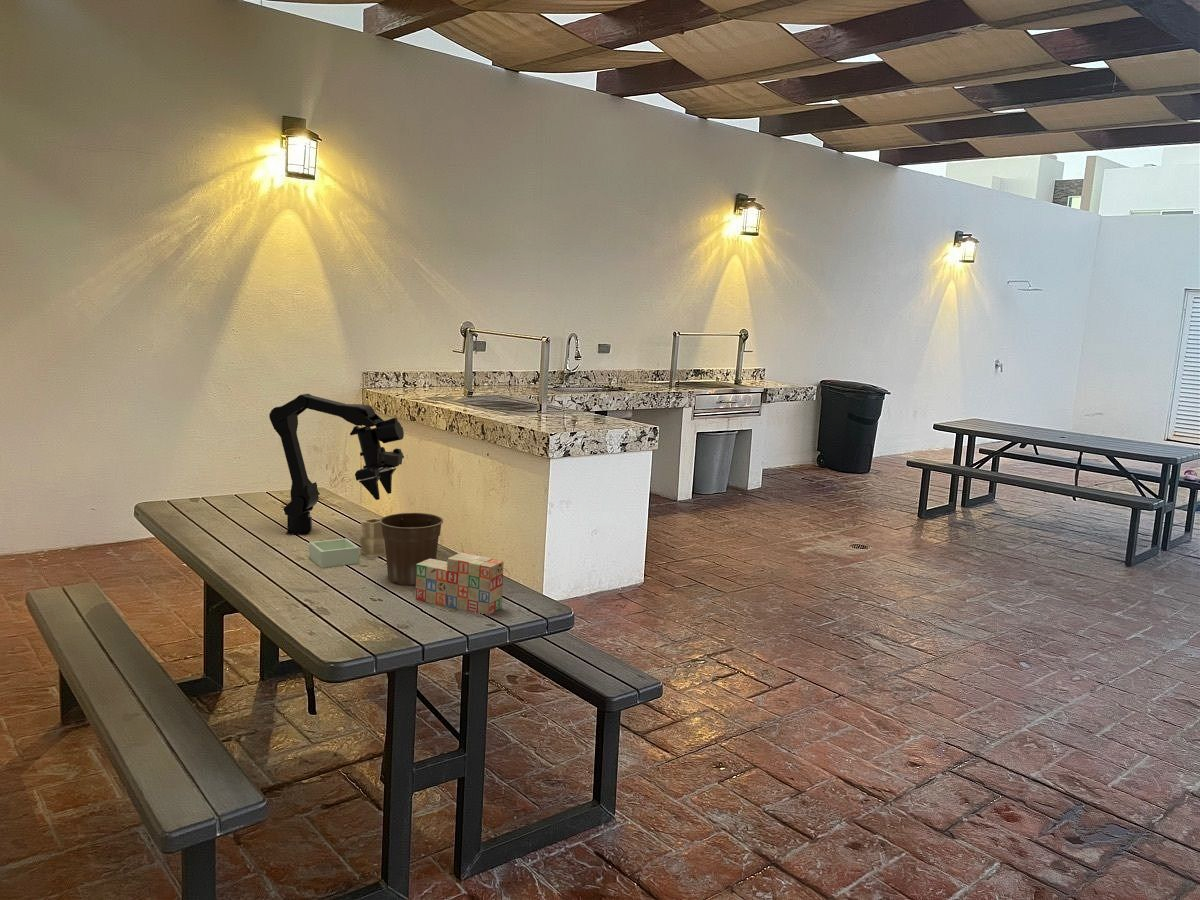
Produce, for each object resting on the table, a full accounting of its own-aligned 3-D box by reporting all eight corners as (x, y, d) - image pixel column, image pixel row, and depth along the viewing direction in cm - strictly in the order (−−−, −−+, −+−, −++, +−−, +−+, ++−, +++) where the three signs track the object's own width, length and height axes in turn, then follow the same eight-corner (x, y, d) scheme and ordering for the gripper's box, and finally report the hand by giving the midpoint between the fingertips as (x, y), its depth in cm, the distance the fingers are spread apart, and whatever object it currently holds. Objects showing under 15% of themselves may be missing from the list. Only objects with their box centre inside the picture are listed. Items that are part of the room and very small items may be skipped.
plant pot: (387, 591, 232) (388, 529, 229) (372, 573, 246) (373, 514, 243) (449, 585, 239) (451, 524, 237) (431, 567, 254) (432, 510, 251)
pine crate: (360, 554, 262) (361, 520, 261) (375, 551, 267) (375, 517, 265) (371, 558, 260) (371, 523, 258) (386, 554, 264) (386, 520, 262)
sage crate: (309, 557, 257) (309, 542, 256) (346, 553, 263) (346, 538, 262) (321, 567, 248) (321, 551, 247) (359, 563, 254) (359, 547, 253)
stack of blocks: (414, 600, 227) (415, 551, 225) (429, 593, 232) (430, 546, 230) (489, 616, 218) (490, 566, 216) (502, 608, 224) (504, 560, 222)
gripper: (383, 445, 264) (397, 497, 266) (406, 436, 282) (419, 485, 284) (348, 453, 266) (362, 505, 268) (373, 444, 284) (386, 492, 286)
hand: (383, 496), depth 277 cm, fingers open, 9 cm apart
